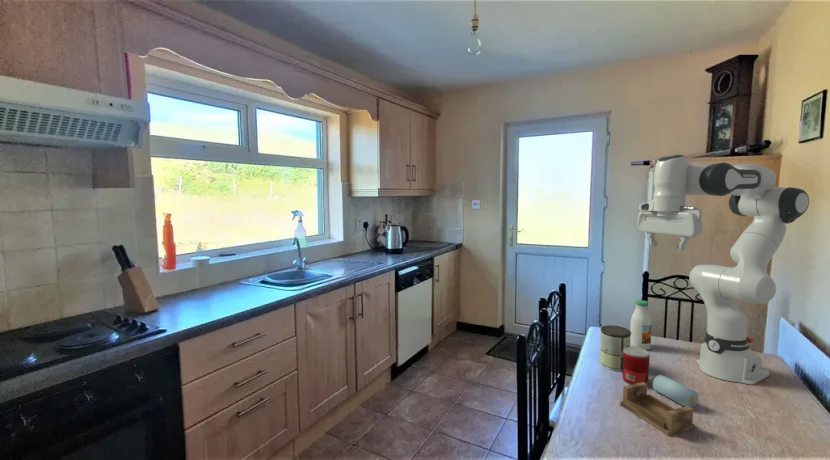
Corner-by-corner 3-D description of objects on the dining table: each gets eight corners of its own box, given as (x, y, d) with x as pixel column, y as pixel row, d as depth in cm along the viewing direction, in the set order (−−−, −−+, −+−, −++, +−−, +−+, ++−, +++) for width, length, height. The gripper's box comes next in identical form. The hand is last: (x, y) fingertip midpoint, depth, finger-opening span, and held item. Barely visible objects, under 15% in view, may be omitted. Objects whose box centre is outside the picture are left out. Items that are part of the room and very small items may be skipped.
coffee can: (601, 357, 153) (602, 323, 152) (630, 363, 147) (632, 328, 146) (597, 367, 144) (599, 331, 143) (628, 374, 139) (630, 336, 137)
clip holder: (644, 399, 122) (645, 381, 121) (694, 428, 107) (695, 408, 106) (620, 404, 119) (620, 386, 118) (668, 435, 104) (669, 414, 103)
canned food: (652, 387, 129) (653, 356, 128) (626, 385, 131) (627, 354, 130) (643, 376, 136) (644, 347, 135) (619, 375, 138) (620, 346, 137)
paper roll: (664, 389, 128) (665, 373, 127) (698, 406, 117) (699, 389, 117) (652, 392, 126) (652, 376, 126) (685, 410, 116) (685, 393, 115)
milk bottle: (633, 349, 159) (635, 303, 157) (626, 342, 167) (628, 298, 165) (653, 350, 158) (656, 304, 156) (645, 343, 166) (647, 299, 164)
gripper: (708, 206, 114) (706, 251, 116) (648, 204, 134) (646, 243, 135) (693, 207, 112) (691, 253, 114) (634, 205, 132) (633, 244, 133)
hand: (666, 248), depth 124 cm, fingers open, 8 cm apart
